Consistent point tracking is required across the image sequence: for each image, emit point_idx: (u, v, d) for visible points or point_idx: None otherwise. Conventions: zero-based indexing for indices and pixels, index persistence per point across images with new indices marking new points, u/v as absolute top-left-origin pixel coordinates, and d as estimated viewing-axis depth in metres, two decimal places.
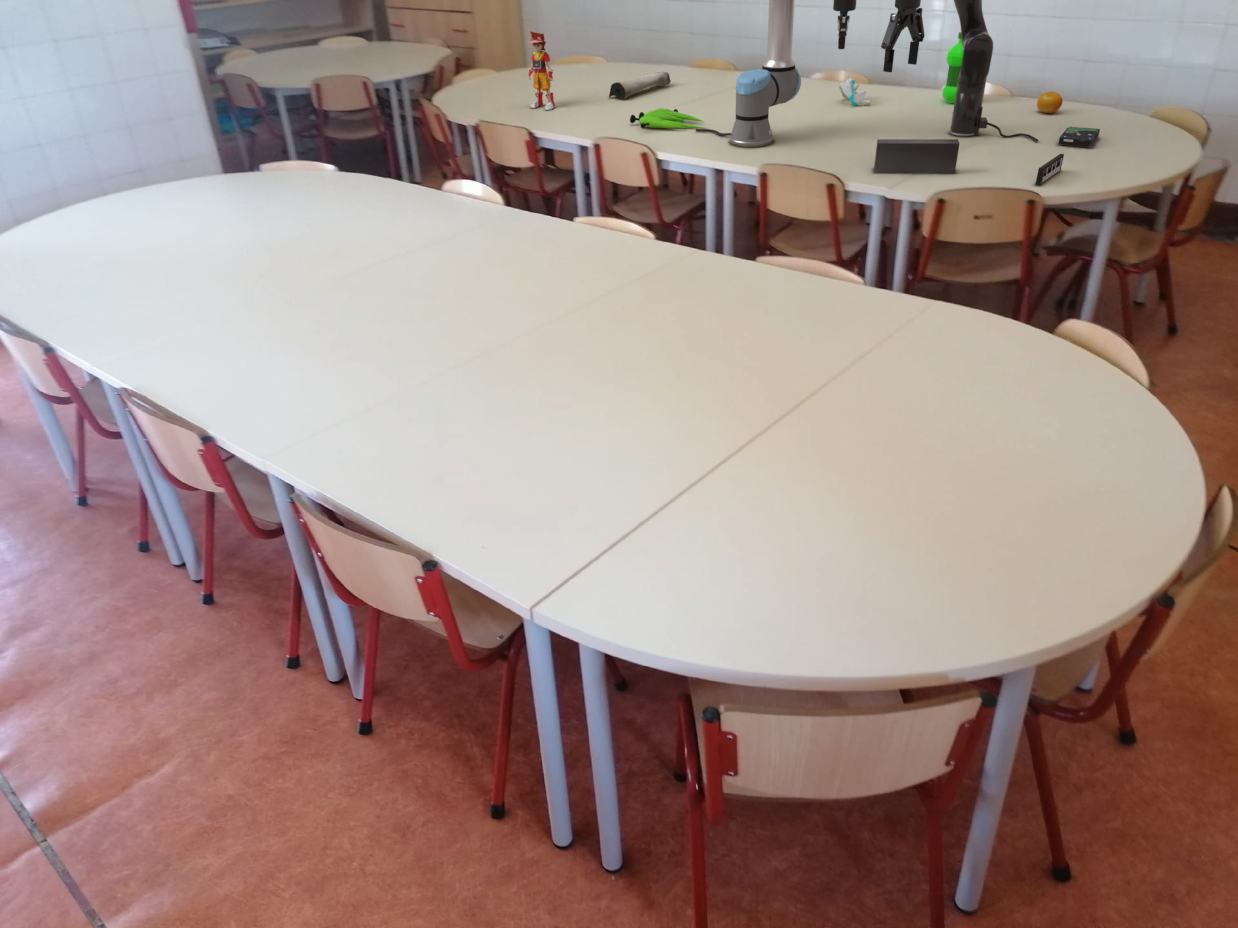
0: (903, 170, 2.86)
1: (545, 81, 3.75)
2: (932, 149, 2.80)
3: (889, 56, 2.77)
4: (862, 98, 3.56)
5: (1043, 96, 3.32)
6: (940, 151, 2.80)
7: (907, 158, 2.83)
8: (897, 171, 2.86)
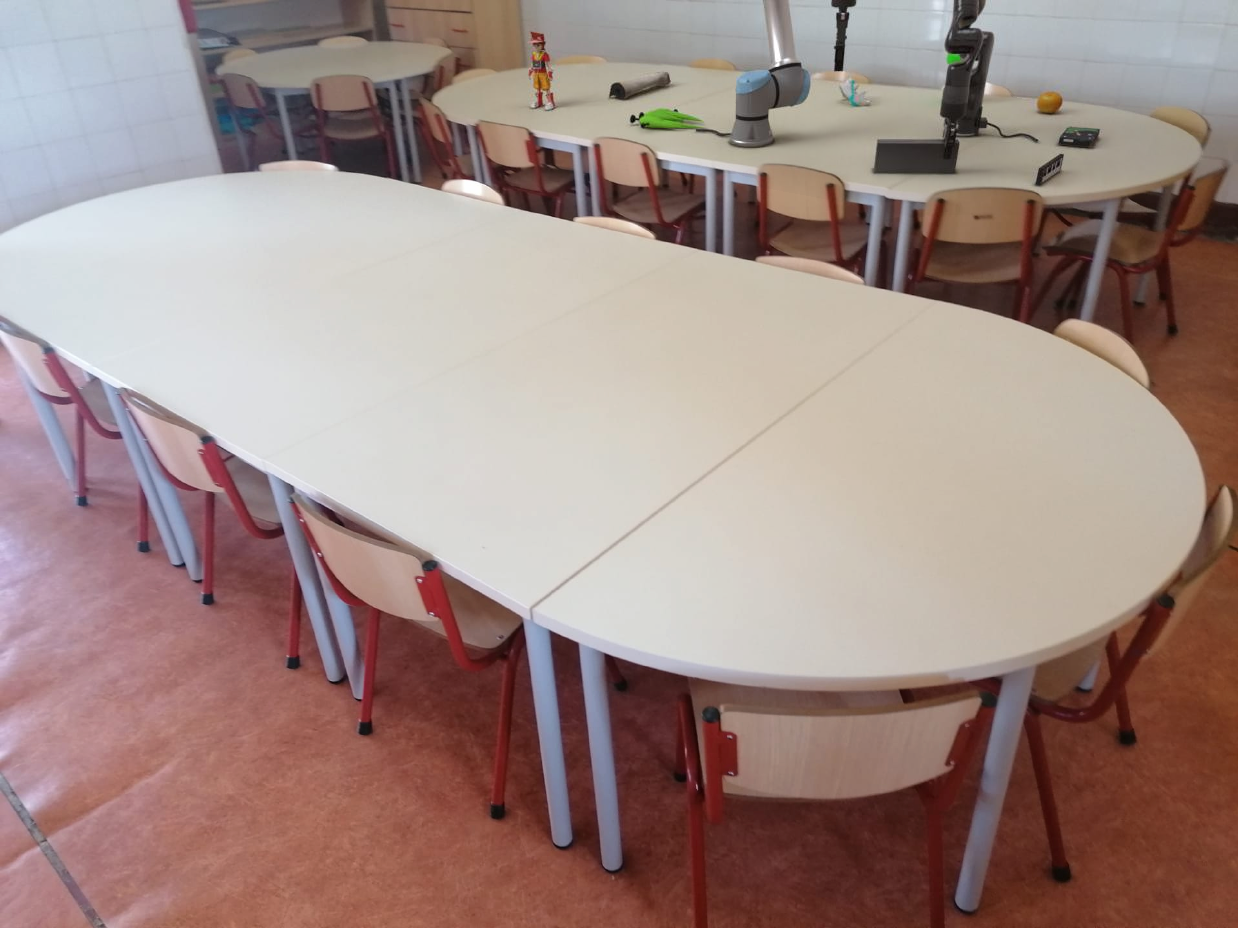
0: (903, 170, 2.86)
1: (545, 81, 3.75)
2: (932, 149, 2.80)
3: None
4: (862, 98, 3.56)
5: (1043, 96, 3.32)
6: (940, 151, 2.80)
7: (907, 158, 2.83)
8: (897, 171, 2.86)
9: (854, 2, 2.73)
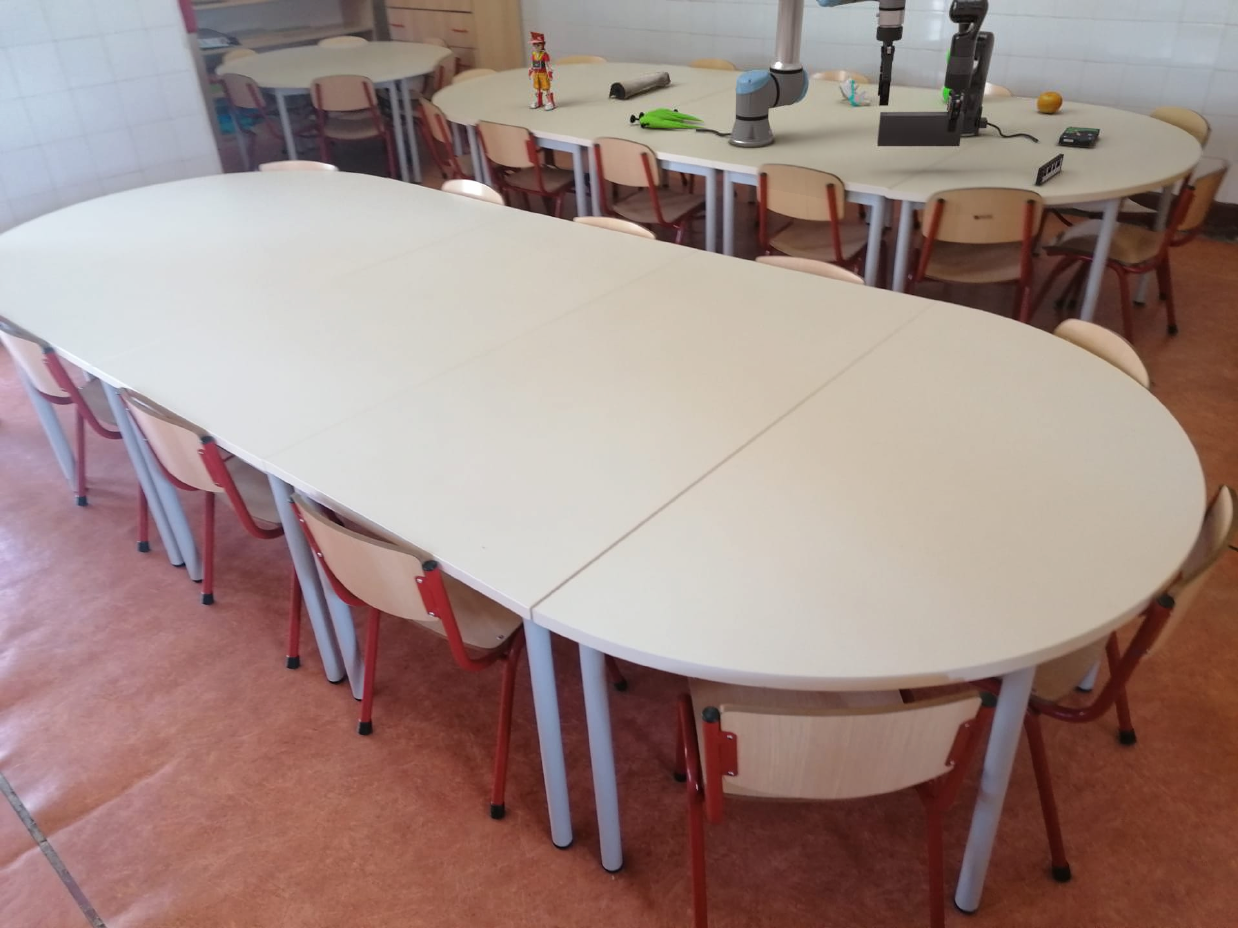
0: (907, 143, 2.81)
1: (545, 81, 3.75)
2: (936, 122, 2.76)
3: None
4: (862, 98, 3.56)
5: (1043, 96, 3.32)
6: (945, 124, 2.75)
7: (911, 131, 2.79)
8: (901, 145, 2.81)
9: (900, 36, 2.66)
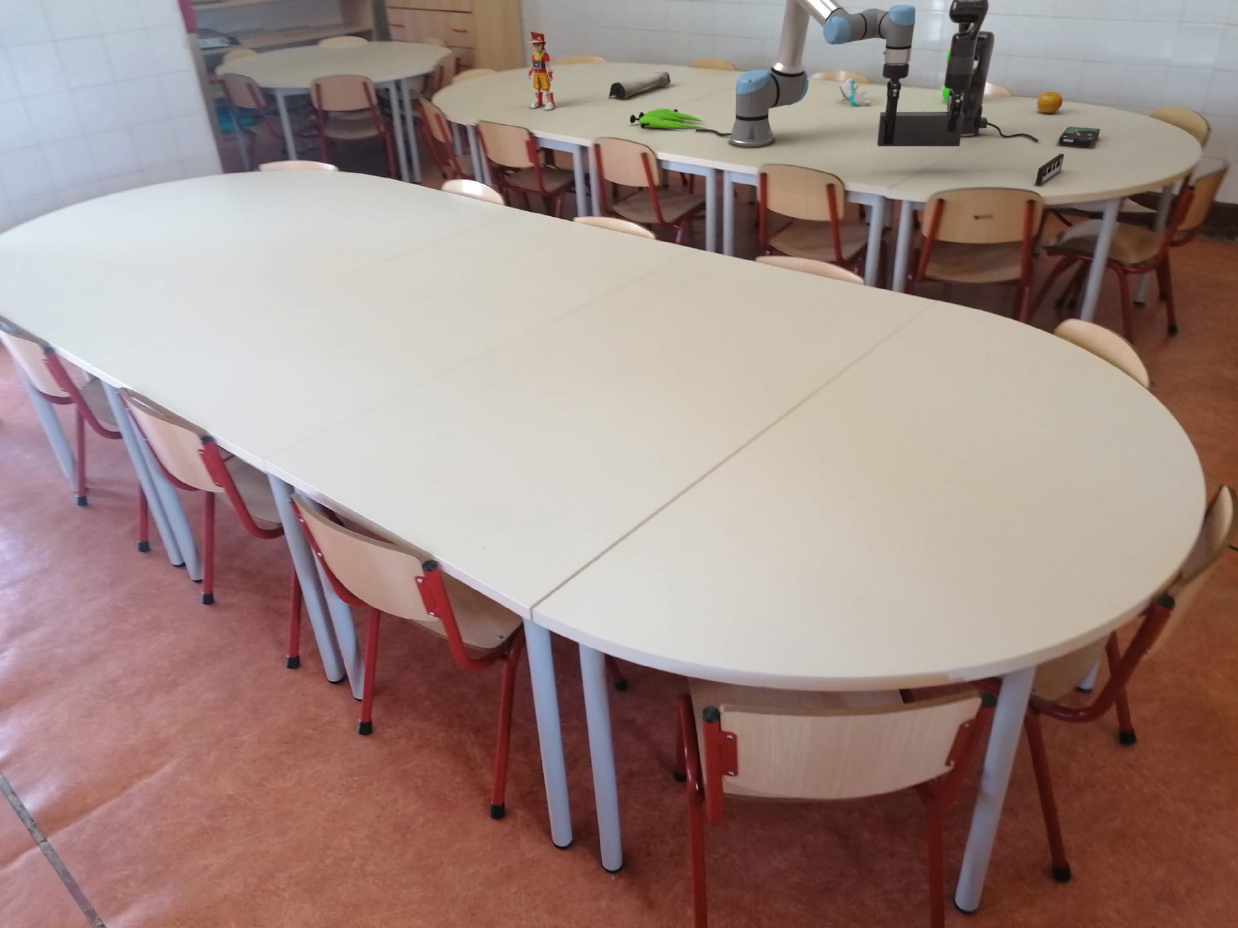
0: (907, 143, 2.81)
1: (545, 81, 3.75)
2: (936, 122, 2.76)
3: None
4: (862, 98, 3.56)
5: (1043, 96, 3.32)
6: (945, 124, 2.75)
7: (911, 131, 2.79)
8: (901, 145, 2.81)
9: (906, 73, 2.70)
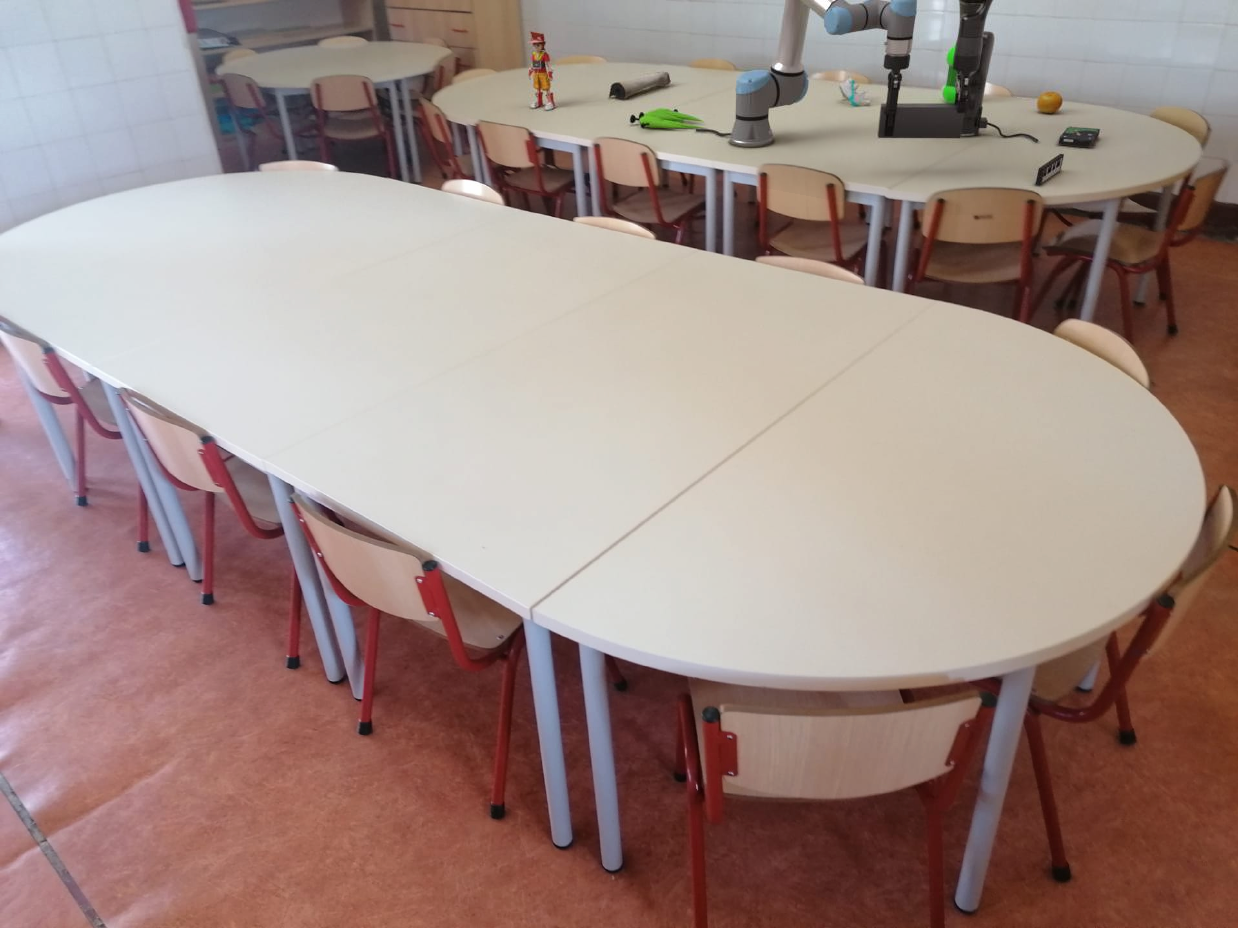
0: (907, 135, 2.79)
1: (545, 81, 3.75)
2: (937, 113, 2.74)
3: None
4: (862, 98, 3.56)
5: (1043, 96, 3.32)
6: (946, 115, 2.74)
7: (911, 123, 2.77)
8: (901, 136, 2.80)
9: (907, 64, 2.68)
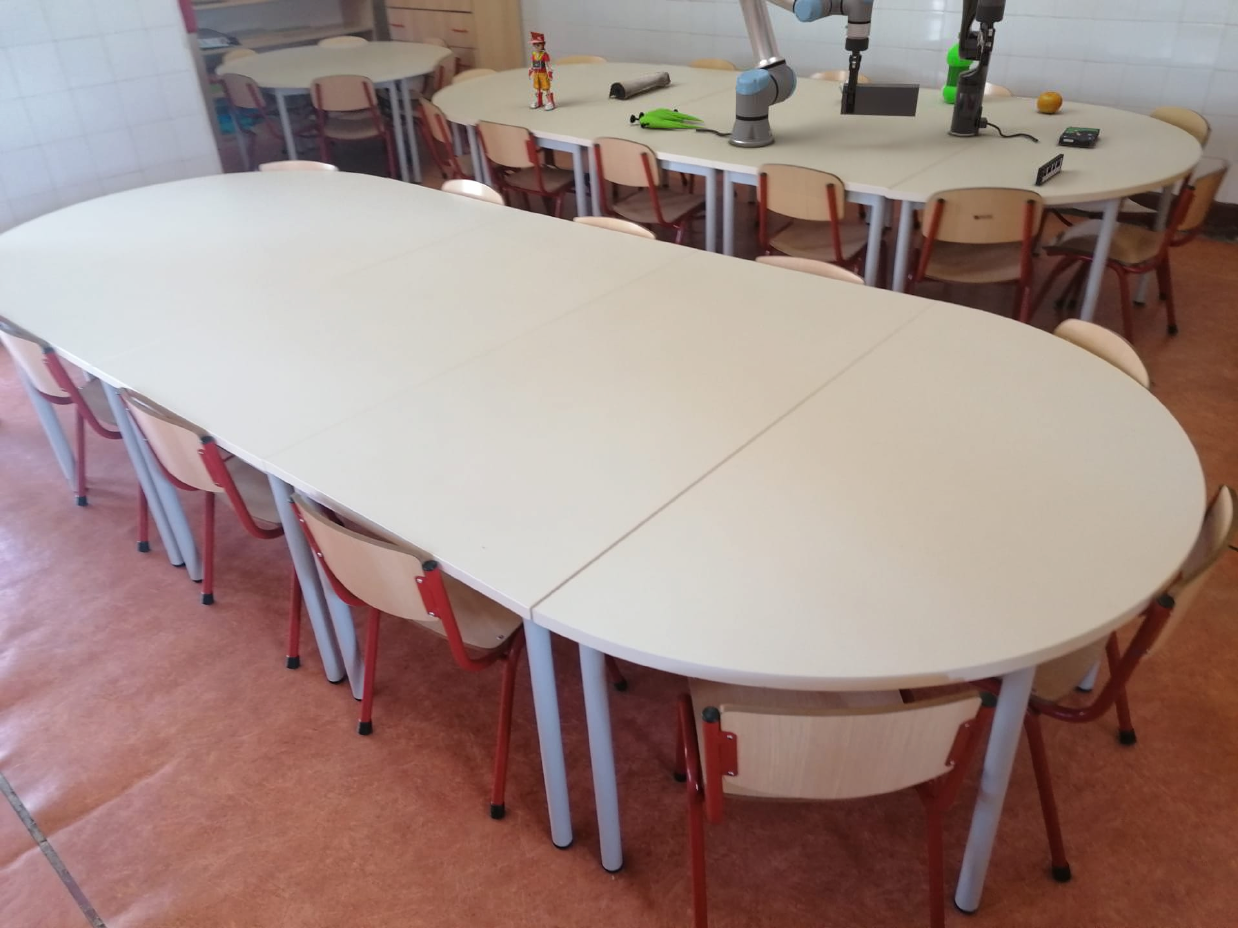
0: (867, 112, 3.04)
1: (545, 81, 3.75)
2: (894, 93, 2.98)
3: None
4: None
5: (1043, 96, 3.32)
6: (901, 95, 2.98)
7: (870, 101, 3.02)
8: (862, 114, 3.05)
9: (866, 47, 2.93)
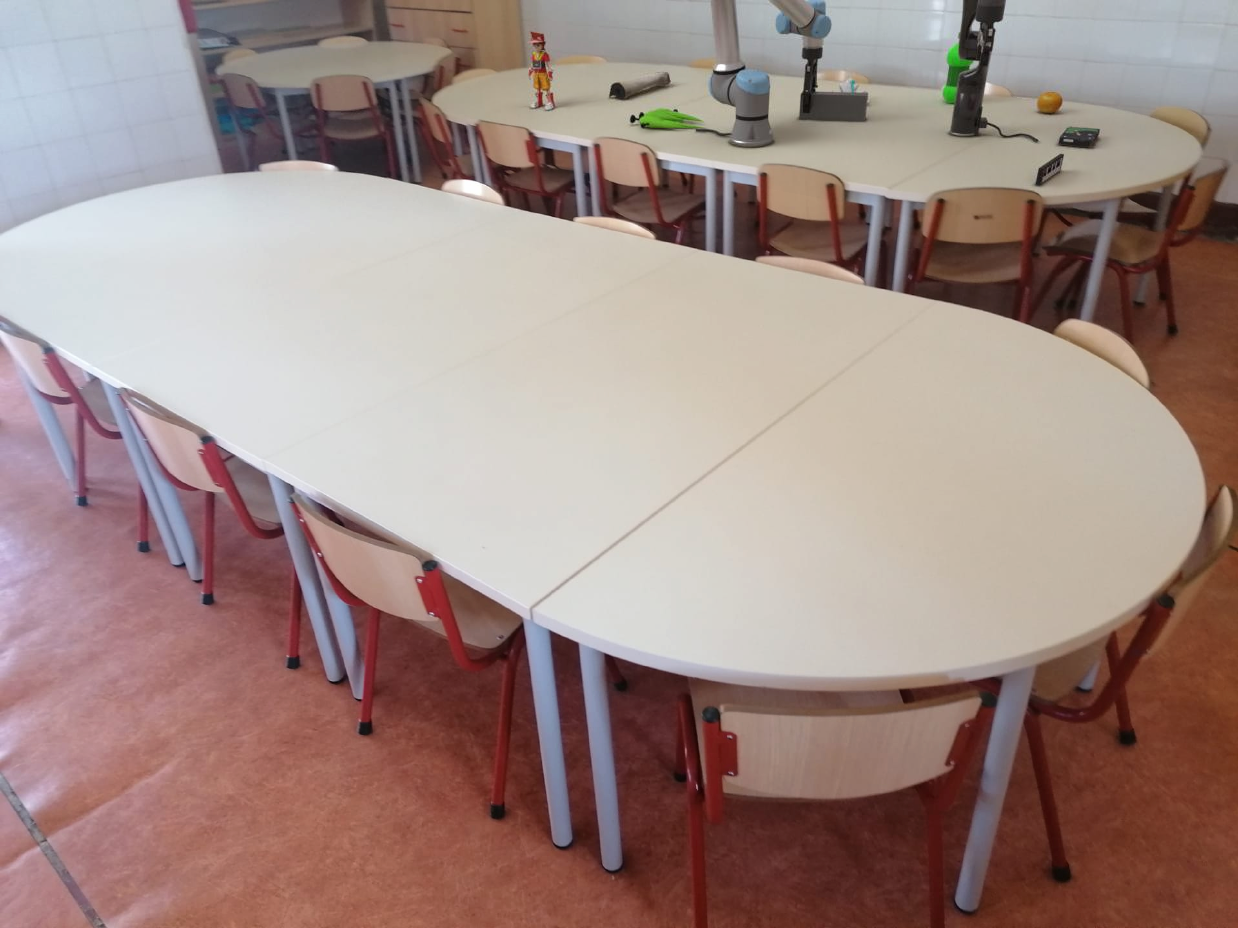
0: (822, 117, 3.43)
1: (545, 81, 3.75)
2: (845, 100, 3.37)
3: None
4: None
5: (1043, 96, 3.32)
6: (851, 102, 3.36)
7: (825, 107, 3.40)
8: (817, 119, 3.44)
9: (819, 55, 3.31)
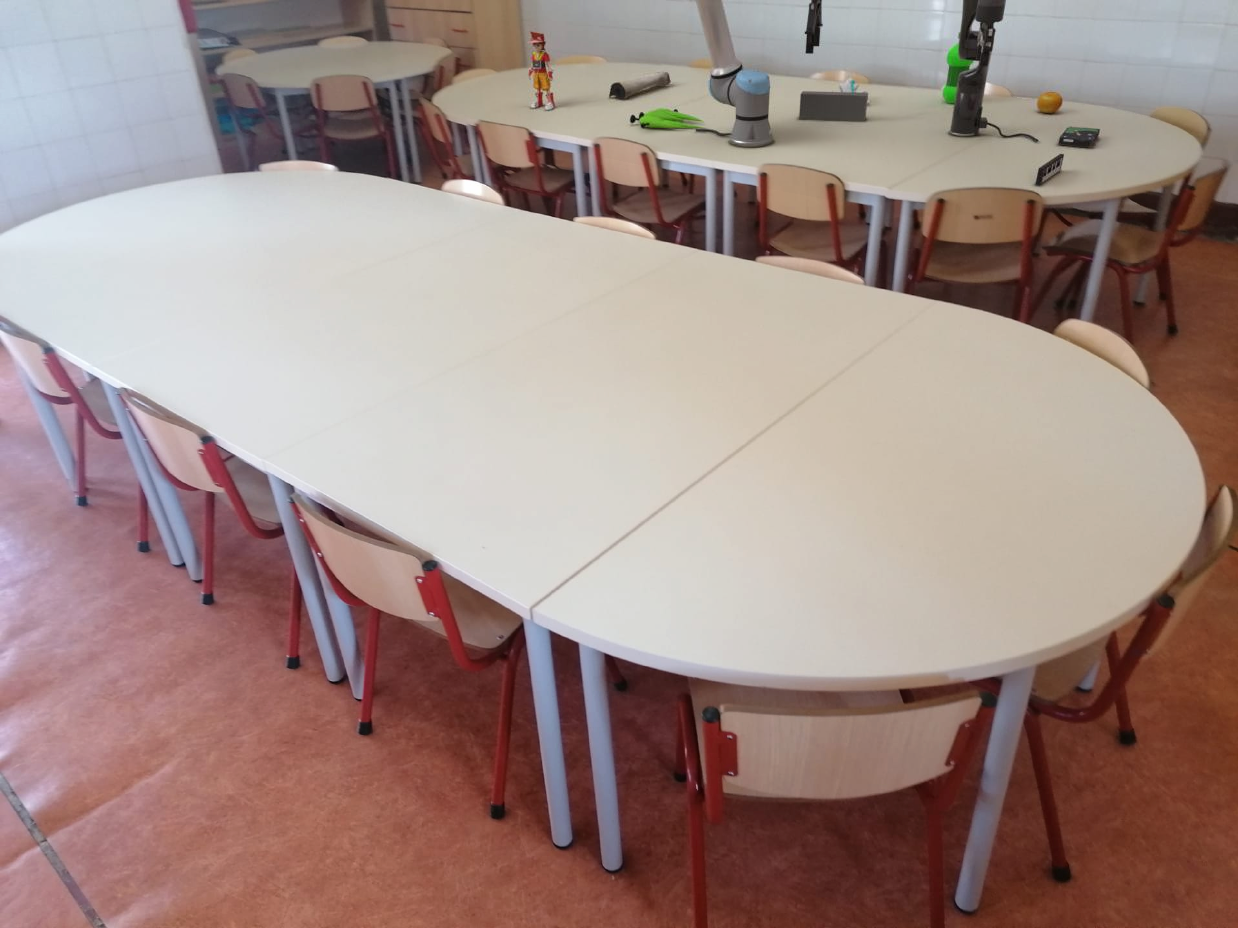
0: (822, 117, 3.43)
1: (545, 81, 3.75)
2: (845, 100, 3.37)
3: None
4: None
5: (1043, 96, 3.32)
6: (851, 102, 3.36)
7: (825, 107, 3.40)
8: (817, 118, 3.44)
9: None
